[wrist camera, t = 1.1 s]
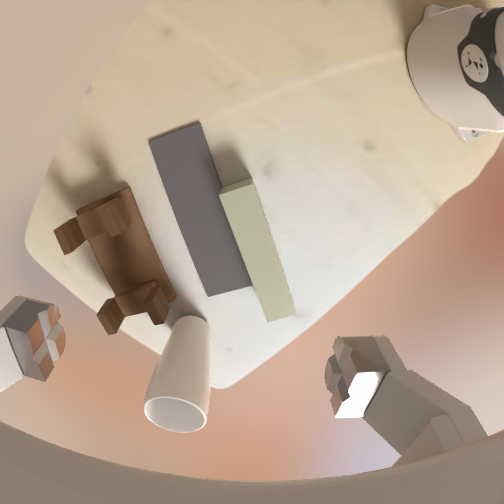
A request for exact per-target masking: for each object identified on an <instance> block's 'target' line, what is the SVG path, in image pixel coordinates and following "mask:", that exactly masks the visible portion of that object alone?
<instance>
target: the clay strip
mask: <svg viewBox="0 0 504 504" xmlns="http://www.w3.org/2000/svg"><path fill="white" fill-rule="evenodd" d="M219 197H220V200H221V202H222V205H223V207H224V210H225V213H226V215H227V218H228V221H229V223H230V226H231V229H232V231H233V234H234V236H235V239H236V242H237V244H238V247H239V250H240V252H241V255H242V257H243V260H244V263H245V265H246V268H247V270H248V273H249V276H250V278H251V281H252V283H253V286H254V289H255V291H256V294H257V296H258V299H259V301H260V304H261V307H262V309H263V312H264V314H265V317H266V319H267V322H271V321H274V320H278V319H281V318H285V317H288V316H291V315H295V314H296V312H295V308H294V303H293V299H292V296H291V293H290V290H289V286H288V283H287V280H286V277H285V274H284V271H283V268H282V265H281V262H280V259H279V256H278V253H277V250H276V247H275V244H274V241H273V238H272V235H271V232H270V229H269V226H268V223H267V220H266V217H265V214H264V211H263V208H262V205H261V202H260V199H259V196H258V193H257V190H256V187H255V184H254V181H253V179H252V178H249V179H246V180H243V181H240V182H237V183H234V184H231V185H228V186H225V187H222V188H221V191H220V194H219Z"/></svg>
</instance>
